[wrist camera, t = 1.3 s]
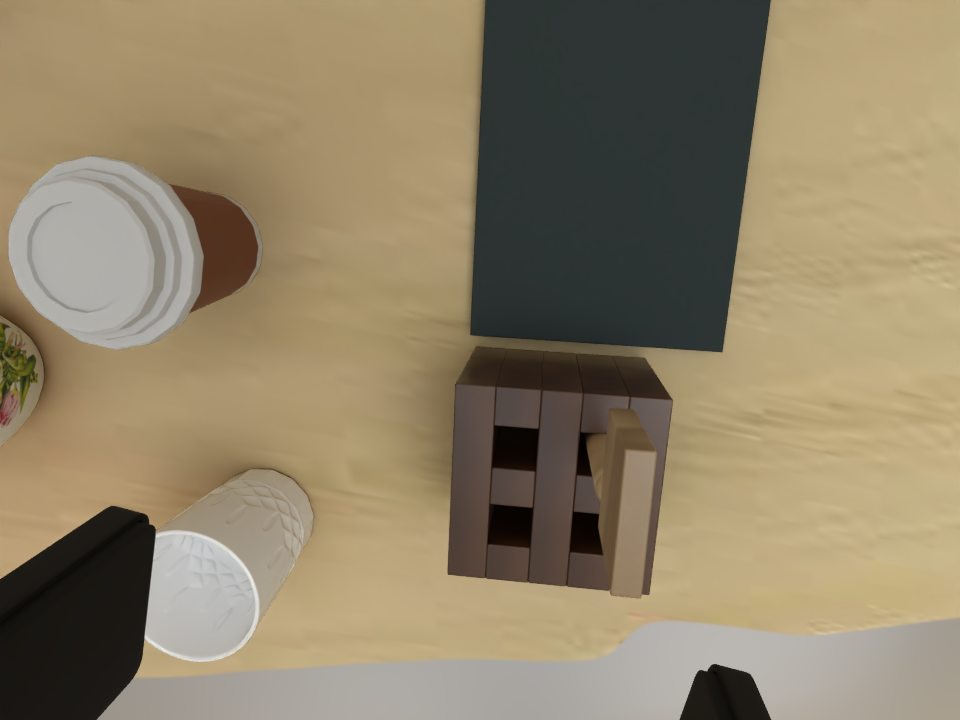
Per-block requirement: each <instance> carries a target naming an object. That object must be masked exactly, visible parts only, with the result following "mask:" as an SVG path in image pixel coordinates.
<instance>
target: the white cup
mask: <svg viewBox="0 0 960 720" xmlns="http://www.w3.org/2000/svg"><path fill="white" fill-rule="evenodd" d="M313 519H314V515H313V511H312V508H311V505H310V502H309V499H308V496H307V495H306V494H305V492H304V491H303V490H302V489H301V488H300V487H299V486H298V485H297V483H296V482H295V481H294V480H293V479H291V478H289V477H287V476H285V475H283V474H281V473H278V472H276V471H274V470H266V469H250V470H248V471H246V472H244V473H242V474H239V475H237V476H235V477H233V478H231V479H230V480H229V481H227V482H226V483H225V484H223V485H222V486H219V487H218V488H216V489H214V490H213V491H211V492H210V493H208V494H207V495H205V496H204V497H203V498H201V499H200V500H198V501H197V502H195V503H194V504H192V505H190V506H189V507H188V508H186V509H185V510H183V511H182V512H181V513H179V514H178V515H177V516H175V517H174V518H172V519H171V520H170V521H168V522H167V523H166V524H164V525H163V526H161V527H160V528H159V529H157V530H156V538H155V547H154V556H153V565H152V574H151V583H150V592H149V601H148V610H147V619H146V628H145V637H144V639H145V640H147V641H148V642H149V643H150V644H151V645H153V646H154V647H156V648H157V649H159V650H161V651H162V652H164V653H166V654H168V655H171V656H173V657H176V658H179V659H183V660H188V661H196V662H206V661H214V660H218V659H222V658H225V657H227V656H229V655H231V654H233V653H235V652H236V651H238V650H239V649H240V648H242V647H243V646H244V645H245V644H246V643H247V641H248V640H249V639H250V637H251V636H252V634H253V633H254V631H255V629H256V628H257V626H258V625H259V623H260V621H261V620H262V618H263V617H264V615H265V613H266V612H267V610H268V609H269V607H270V605H271V604H272V602H273V601H274V599H275V597H276V596H277V594H278V593H279V591H280V590H281V588H282V586H283V584H284V582H285V581H286V579H287V577H288V575H289V574H290V572H291V570H292V569H293V567H294V565H295V563H296V561H297V558H298V556H299V554H300V552H301V551H302V549H303V547H304V546H305V544H306V543H307V541H308V540H309V538H310V536H311V531H312V525H313Z"/></svg>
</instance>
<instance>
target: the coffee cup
mask: <svg viewBox="0 0 960 720" xmlns="http://www.w3.org/2000/svg"><path fill="white" fill-rule="evenodd" d="M262 249H263V244H262V241H261V237H260V233H259V229H258V225H257V224H256V222H255V221H254V220H253V218H252V217H251V215H250V214H249V212H248V211H247V210H246V208H245V207H243V206H242V205H240V204H239V203H237V202H236V201H234V200H233V199H231V198H230V197H228V196H224V195H220V194H215V193H210V192H202V191H198V190H193V189H189V188H184V187H180V186H175V185H170V184H167V183H165V182H164V181H162V180H161V179H159V178H158V177H156V176H155V175H153V174H152V173H151V172H149V171H148V170H146V169H145V168H143V167H142V166H140V165H139V164H136V163H131V162H126V161H122V160H117V159H112V158H107V157H103V156H95V155H92V156H87V157H83V158H79V159H75V160H70V161H66V162H62V163H58V164H57V165H55V166H54V167H53V168H52V169H51V170H50V171H48V172H47V173H46V174H45V175H44V176H42V177H41V178H40V179H39V180H38V181H36V182H35V183H34V184H33V185H32V186H31V187H30V189H29V191H28V193H27V196H26V197H25V198H24V199H22V200H21V201H20V204H19V206H18V208H17V210H16V213H15V215H14V217H13V219H12V221H11V224H10V226H9V246H8V258H9V261H10V264H11V267H12V270H13V273H14V276H15V279H16V282H17V285H18V287H19V289H20V290H21V291H22V293H23V294H24V295H25V297H26V298H27V299H28V300H29V302H30V303H31V304H32V306H33V307H34V308H35V310H36V311H37V312H38V313H39V314H41V315H42V316H44V317H45V318H47V319H48V320H50V321H51V322H52V323H54V324H55V325H57V326H58V327H60V328H61V329H63V330H64V331H66V332H67V333H69V334H70V335H72V336H74V337H75V338H77V339H78V340H80V341H81V342H84V343H89V344H93V345H98V346H102V347H107V348H111V349H115V350H120V349H125V348H131V347H136V346H141V345H146V344H151V343H154V342H157V341H159V340H160V339H162V338H163V337H164V336H166V335H167V334H168V333H170V332H171V331H173V330H174V329H175V328H177V327H178V326H179V325H181V324H182V323H184V321H185V319H186V318H187V316H188V314H189V313H191V312H193V311H195V310H197V309H200V308H202V307H204V306H206V305H209V304H211V303H213V302H215V301H217V300H220V299H222V298H224V297H226V296H229V295H231V294H234V293H237V292H238V291H240V290H241V289H242V288H244V287H245V286H247V285H248V284H249V283H251V282H252V280H253V278H254V276H255V274H256V273H257V271H258V269H259V267H260V266H261V257H262Z"/></svg>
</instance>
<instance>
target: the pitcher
mask: <svg viewBox="0 0 960 720" xmlns="http://www.w3.org/2000/svg"><path fill="white" fill-rule="evenodd" d="M43 382H44V367H43V362H42V358H41V356H40V353H39V351H38V349H37V347H36V346H35V344H34V342H33V341H32V340H31V339H30V337H29V336H28V335H27V334H26V333H25V332H24V331H23V330H21V329H20V328H19V327H17V326H16V325H14V324H12V323H11V322H10V321H8V320H7V319H5V318H3V317H2V316H0V446H1V445H2V444H3V443H5V442H6V441H7V440H8V439H9V438H10V437H11V436H12V435H13V434H15V433H16V431H17V430H18V429H19V428H20V427H21V426H22V425H23V424H24V423H25V421H26V420H27V419H28V417H29V416H30V414H31V413H32V411H33V410H34V408H35V406H36V404H37V402H38V399H39V396H40V392H41V390H42V387H43Z"/></svg>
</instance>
